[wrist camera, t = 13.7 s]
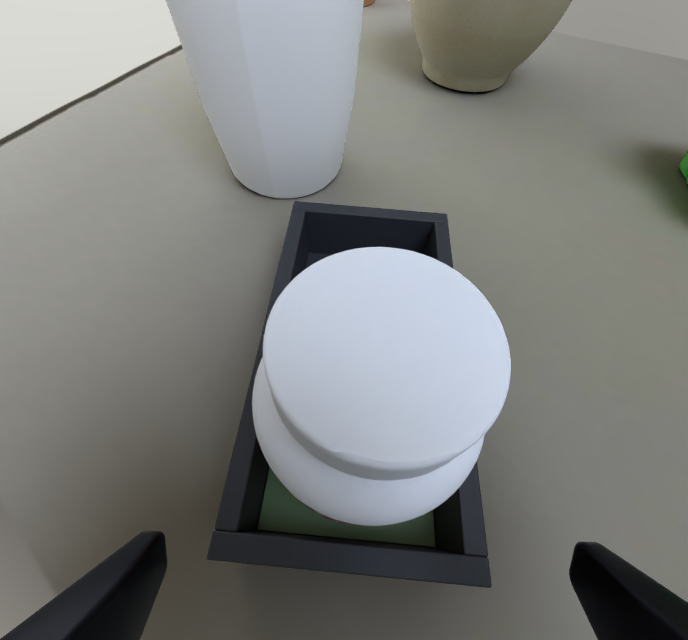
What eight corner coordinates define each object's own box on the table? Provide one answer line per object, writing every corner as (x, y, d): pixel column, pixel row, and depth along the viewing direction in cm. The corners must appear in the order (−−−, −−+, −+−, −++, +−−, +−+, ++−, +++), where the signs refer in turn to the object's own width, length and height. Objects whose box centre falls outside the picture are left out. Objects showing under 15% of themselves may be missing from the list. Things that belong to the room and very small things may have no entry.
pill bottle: (257, 469, 15) (135, 376, 6) (332, 364, 18) (335, 185, 8) (376, 560, 13) (485, 642, 4) (438, 428, 16) (587, 296, 7)
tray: (451, 572, 14) (492, 588, 10) (236, 550, 14) (205, 559, 11) (429, 260, 23) (447, 213, 20) (299, 249, 23) (294, 200, 20)
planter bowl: (562, 84, 38) (637, -57, 29) (469, 127, 32) (525, -32, 23) (457, 36, 44) (491, -93, 35) (365, 65, 39) (376, -79, 30)
